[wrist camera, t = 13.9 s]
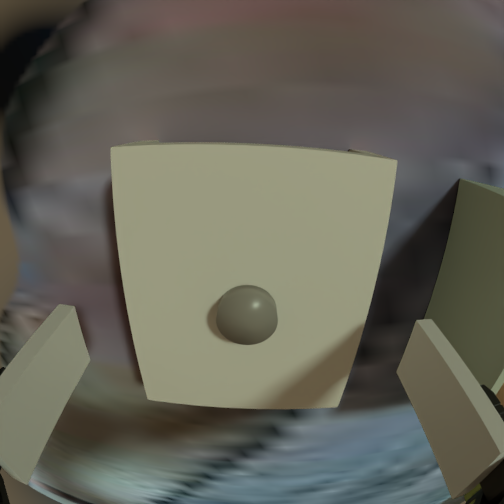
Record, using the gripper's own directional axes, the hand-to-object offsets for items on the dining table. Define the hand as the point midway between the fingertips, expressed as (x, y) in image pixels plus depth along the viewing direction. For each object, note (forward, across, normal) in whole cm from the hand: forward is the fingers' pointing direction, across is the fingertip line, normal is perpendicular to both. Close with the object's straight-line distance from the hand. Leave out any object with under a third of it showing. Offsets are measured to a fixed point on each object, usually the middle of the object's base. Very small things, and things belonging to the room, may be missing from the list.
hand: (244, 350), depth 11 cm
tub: (+5, +15, 0) cm, 16 cm away
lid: (+3, 0, 0) cm, 3 cm away
